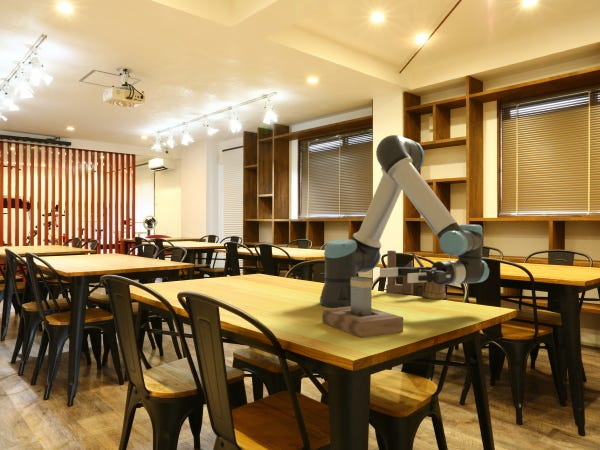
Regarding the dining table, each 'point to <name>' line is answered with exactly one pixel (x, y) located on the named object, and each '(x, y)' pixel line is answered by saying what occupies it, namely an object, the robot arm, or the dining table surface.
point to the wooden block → (391, 281)
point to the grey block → (361, 296)
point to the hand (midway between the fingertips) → (393, 275)
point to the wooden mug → (431, 286)
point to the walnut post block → (362, 322)
